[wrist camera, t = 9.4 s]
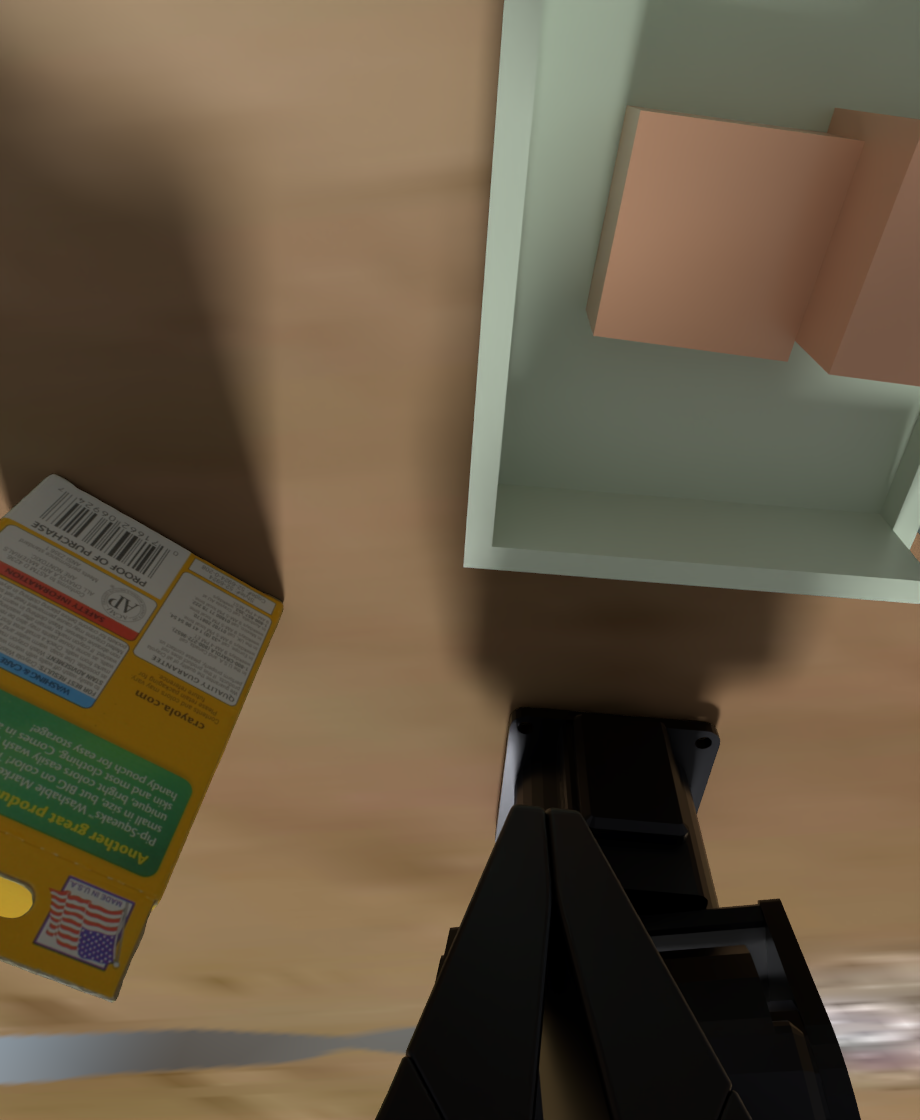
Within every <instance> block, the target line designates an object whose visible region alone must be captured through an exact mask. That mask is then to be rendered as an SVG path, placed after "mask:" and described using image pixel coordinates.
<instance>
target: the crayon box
mask: <svg viewBox="0 0 920 1120" xmlns="http://www.w3.org/2000/svg"><path fill="white" fill-rule="evenodd" d="M282 612H283V603H282V602H281V601H280V600H278V599H277V598H275V597H273V596H271V595H269V594H265V593H262V592H260V591H258V590H256V589H255V588H253V587H251V586H249V585H248V584H246V583H244V582H242V581H241V580H239V579H237V578H235V577H233V576H232V575H230V574H228V573H227V572H225V571H223V570H221V569H219V568H217V567H216V566H214V565H212V564H211V563H209V562H207V561H205V560H203V559H201V558H199V557H198V556H196V555H194V554H193V553H191V552H190V551H188V550H186V549H184V548H183V547H181V546H179V545H178V544H176V543H174V542H172V541H171V540H169V539H167V538H165V537H163V536H162V535H160V534H159V533H157V532H155V531H153V530H151V529H149V528H148V527H146V526H145V525H143V524H141V523H139V522H138V521H136V520H134V519H132V518H130V517H129V516H127V515H125V514H122V513H121V512H119V511H118V510H116V509H114V508H113V507H111V506H109V505H107V504H105V503H103V502H102V501H100V500H98V499H97V498H95V497H93V496H91V495H90V494H88V493H86V492H84V491H82V490H80V489H78V488H76V487H75V486H74V485H73V484H72V483H70V482H69V481H68V480H66V479H64V478H62V477H60V476H58V475H56V474H52V475H49V476H48V477H46V478H45V479H44V480H43V481H42V482H41V483H40V484H38V485H37V486H36V487H35V488H34V489H33V490H32V491H31V492H30V493H29V494H28V495H27V496H25V497H24V498H23V499H22V500H21V501H20V502H19V503H18V504H17V505H16V506H15V507H13V508H12V509H11V510H10V511H9V512H8V513H7V514H6V515H5V516H3V517H2V518H1V519H0V961H2V962H5V963H7V964H10V965H12V966H16V967H19V968H21V969H23V970H26V971H28V972H31V973H33V974H36V975H39V976H42V977H45V978H47V979H51V980H54V981H56V982H58V983H61V984H64V985H66V986H68V987H71V988H74V989H76V990H79V991H81V992H84V993H87V994H90V995H93V996H96V997H99V998H102V999H104V1000H107V1001H109V1002H111V1003H112V1002H114V1001H116V999H117V997H118V995H119V991H120V989H121V986H122V983H123V979H124V977H125V976H126V973H127V970H128V968H129V965H130V962H131V960H132V958H133V956H134V954H135V952H136V950H137V948H138V946H139V944H140V941H141V939H142V936H143V934H144V931H145V927H146V923H147V919H148V917H149V915H150V913H151V911H152V910H153V909H154V908H155V907H156V906H157V905H158V903H159V902H160V900H161V898H162V896H163V893H164V891H165V889H166V887H167V884H168V882H169V879H170V877H171V874H172V872H173V870H174V867H175V865H176V863H177V860H178V858H179V855H180V853H181V851H182V848H183V846H184V844H185V841H186V839H187V836H188V834H189V831H190V829H191V827H192V824H193V822H194V820H195V817H196V815H197V813H198V811H199V808H200V806H201V804H202V801H203V799H204V797H205V794H206V792H207V790H208V787H209V785H210V782H211V780H212V777H213V775H214V773H215V771H216V769H217V767H218V764H219V762H220V760H221V758H222V755H223V753H224V750H225V748H226V745H227V743H228V740H229V738H230V736H231V733H232V730H233V728H234V726H235V724H236V721H237V719H238V717H239V714H240V712H241V709H242V707H243V704H244V702H245V700H246V697H247V695H248V693H249V690H250V688H251V685H252V683H253V681H254V678H255V676H256V673H257V671H258V669H259V667H260V664H261V662H262V659H263V657H264V655H265V652H266V650H267V648H268V646H269V643H270V640H271V638H272V636H273V634H274V632H275V630H276V628H277V625H278V623H279V620H280V617H281V615H282Z"/></svg>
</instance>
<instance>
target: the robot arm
mask: <svg viewBox="0 0 920 1120" xmlns="http://www.w3.org/2000/svg"><path fill="white" fill-rule="evenodd" d="M522 722H528V723H531V724H529V725H523V724H521V723H522ZM701 737H707V738H705V739H701V740H699V738H701ZM719 745H720V738H719V735H718V732H717V729H716V728H715V726H713V725H712V724H710V723H706V722H698V721H686V720H674V719H662V718H650V717H638V716H626V715H614V714H602V713H590V712H578V711H566V710H554V709H542V708H530V707H524V708H519V709H516V710H515V711H514V712H513V713H512V714H511V716H510V721H509V729H508V737H507V744H506V752H505V760H504V768H503V776H502V784H501V792H500V800H499V808H498V816H497V824H496V832H495V846H494V848H493V850H492V852H491V855H490V857H489V859H488V862H487V864H486V866H485V869H484V871H483V873H482V876H481V878H480V880H479V883H478V885H477V887H476V890H475V892H474V894H473V897H472V899H471V901H470V904H469V906H468V908H467V911H466V913H465V915H464V918H463V920H462V922H461V924H460V927H454V928H450V931H449V935H448V940H447V944H446V949H445V953H444V955H442V956H441V959H440V963H439V968H438V972H437V977H436V981H435V985H434V987H433V990H432V992H431V994H430V996H429V999H428V1001H427V1003H426V1006H425V1008H424V1010H423V1013H422V1015H421V1017H420V1020H419V1022H418V1024H417V1027H416V1029H415V1031H414V1034H413V1036H412V1039H411V1041H410V1043H409V1045H408V1048H407V1050H406V1056H405V1057H403V1058H402V1060H401V1063H400V1065H399V1067H398V1070H397V1072H396V1074H395V1077H394V1079H393V1081H392V1084H391V1086H390V1088H389V1091H388V1093H387V1095H386V1097H385V1099H384V1102H383V1104H382V1106H381V1108H380V1110H379V1112H378V1114H377V1116H376V1119H375V1120H861V1118H860V1114H859V1111H858V1107H857V1103H856V1099H855V1095H854V1092H853V1088H852V1085H851V1081H850V1078H849V1075H848V1071H847V1068H846V1065H845V1062H844V1059H843V1056H842V1053H841V1049H840V1046H839V1043H838V1041H837V1038H836V1035H835V1033H834V1030H833V1028H832V1025H831V1022H830V1020H829V1017H828V1015H827V1013H826V1010H825V1008H824V1005H823V1003H822V1000H821V998H820V995H819V993H818V991H817V988H816V986H815V983H814V981H813V978H812V976H811V973H810V971H809V969H808V966H807V964H806V961H805V959H804V956H803V954H802V952H801V949H800V947H799V944H798V942H797V939H796V937H795V934H794V932H793V930H792V927H791V925H790V922H789V920H788V917H787V915H786V912H785V910H784V908H783V905H782V903H781V900H780V899H770V900H758V904H756V905H744V906H733V907H722V908H719V905H718V900H717V896H716V892H715V888H714V884H713V880H712V876H711V872H710V868H709V863H708V859H707V855H706V851H705V847H704V843H703V839H702V835H701V830H700V826H699V822H698V818H697V811H698V808H699V805H700V802H701V799H702V796H703V793H704V790H705V787H706V784H707V781H708V778H709V775H710V772H711V769H712V766H713V763H714V760H715V757H716V754H717V751H718V748H719Z"/></svg>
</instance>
